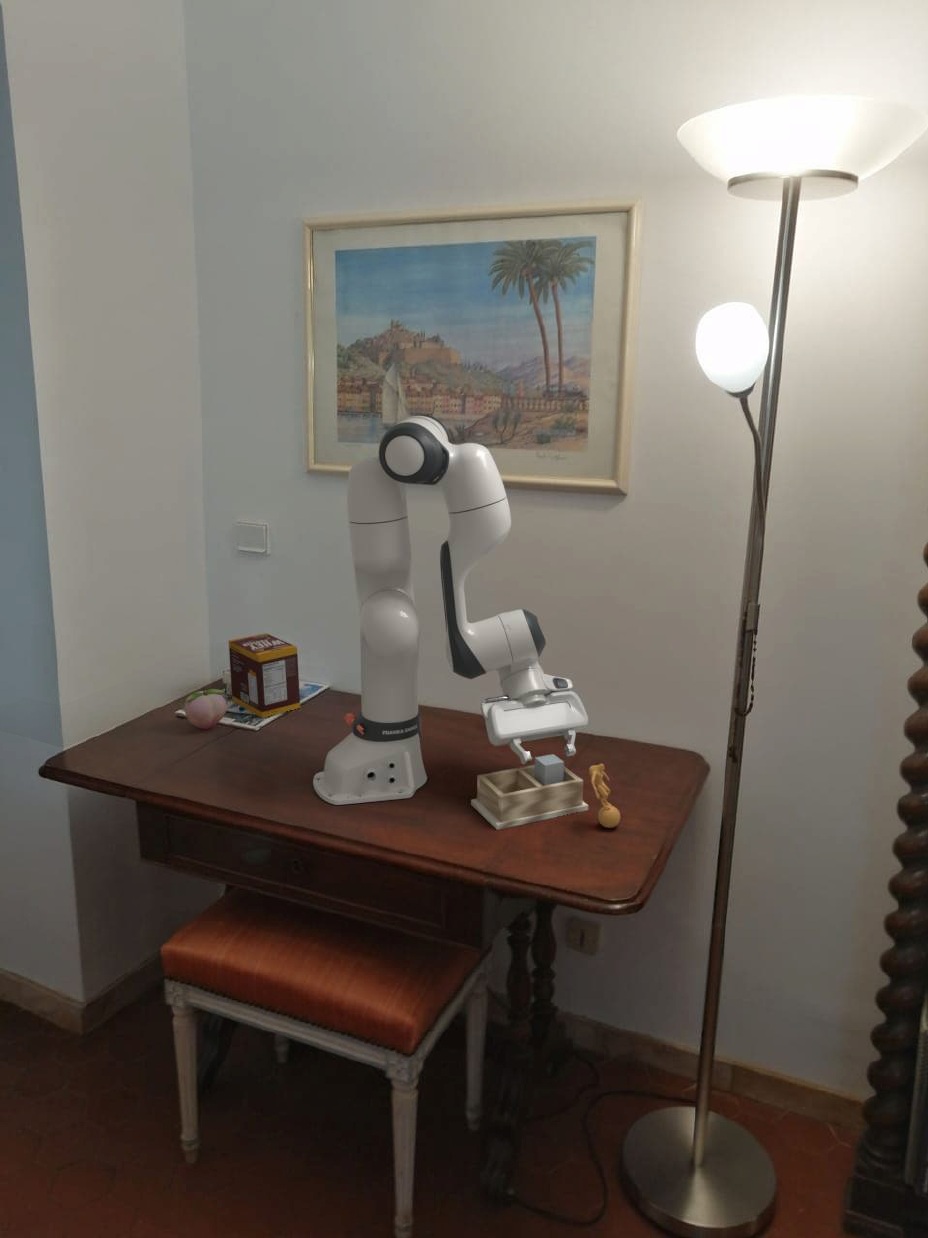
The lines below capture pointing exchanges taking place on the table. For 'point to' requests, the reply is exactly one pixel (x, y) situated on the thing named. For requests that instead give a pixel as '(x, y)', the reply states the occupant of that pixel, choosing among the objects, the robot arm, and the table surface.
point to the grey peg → (548, 770)
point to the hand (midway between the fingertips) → (549, 758)
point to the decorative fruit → (205, 708)
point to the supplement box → (264, 674)
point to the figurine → (604, 797)
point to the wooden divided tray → (526, 797)
